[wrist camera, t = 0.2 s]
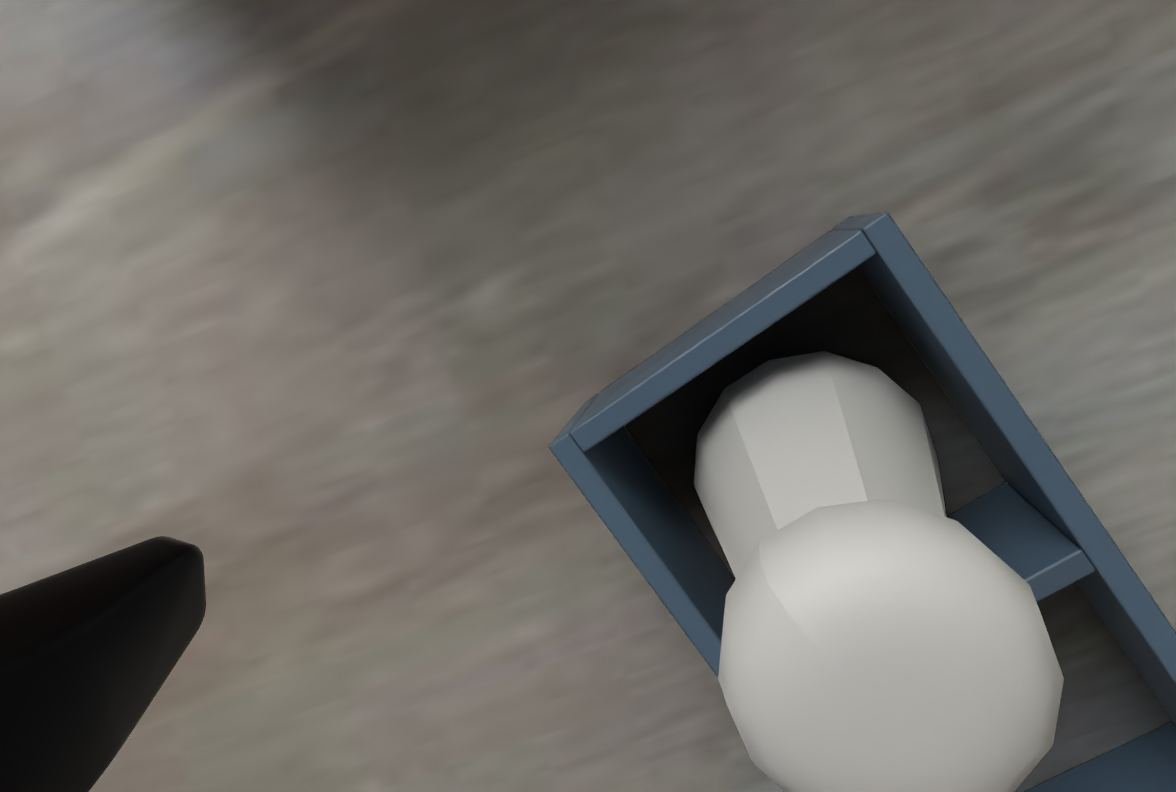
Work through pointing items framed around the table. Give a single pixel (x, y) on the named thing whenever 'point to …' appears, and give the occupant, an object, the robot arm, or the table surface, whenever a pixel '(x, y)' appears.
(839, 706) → the salt shaker
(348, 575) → the table surface
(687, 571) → the divided storage tray
